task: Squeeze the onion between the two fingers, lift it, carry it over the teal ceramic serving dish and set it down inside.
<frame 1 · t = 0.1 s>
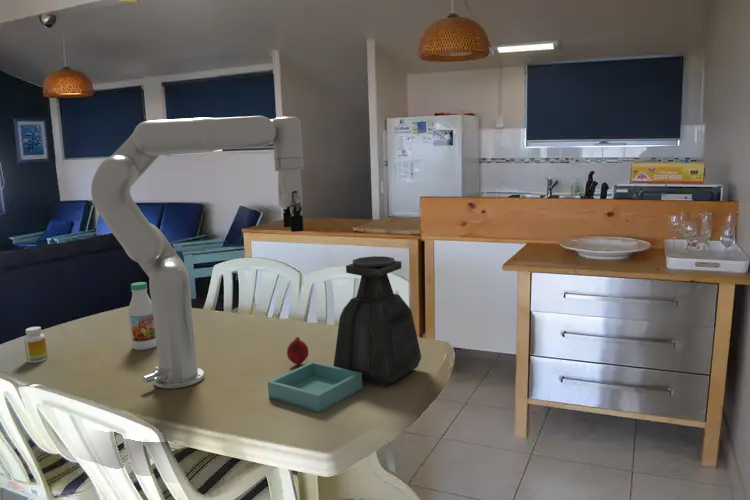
hand: (293, 229, 166), 37 cm above the table, tool pointing down, fingers open, 9 cm apart
serving dish: (316, 393, 150), on the table
bottle: (378, 374, 161), on the table
supplement bottle: (37, 360, 182), on the table
onion: (298, 365, 169), on the table
milk bottle: (145, 347, 191), on the table
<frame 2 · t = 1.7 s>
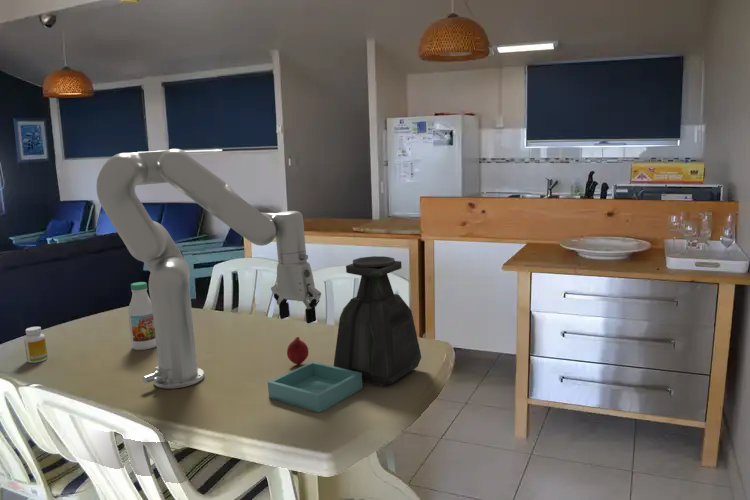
hand: (298, 319, 167), 13 cm above the table, tool pointing down, fingers open, 9 cm apart
nothing on the table moved.
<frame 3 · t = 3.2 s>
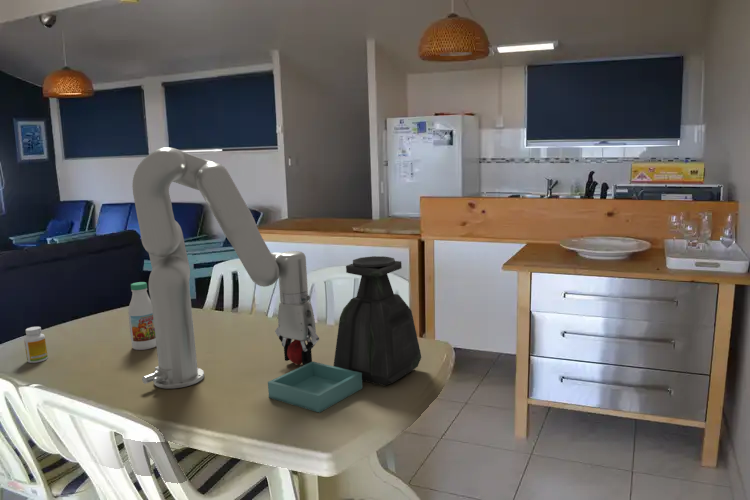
hand: (298, 360, 169), 1 cm above the table, tool pointing down, fingers closed on onion, 5 cm apart
onion: (298, 365, 169), on the table, touching gripper
everything else where it was.
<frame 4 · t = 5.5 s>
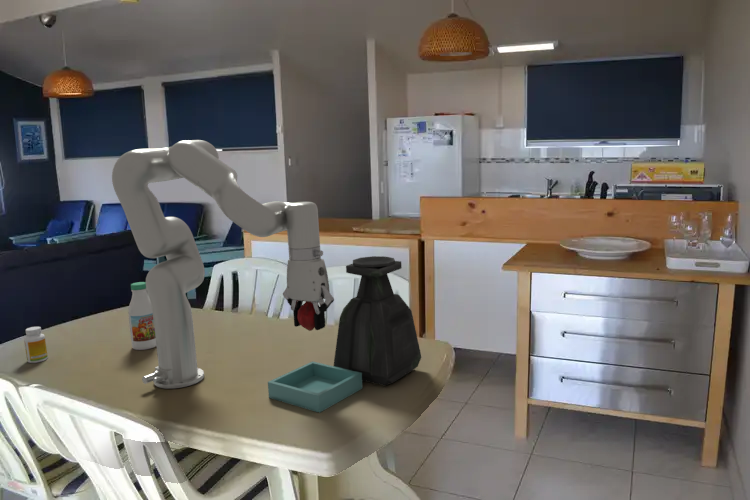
hand: (309, 326, 150), 16 cm above the table, tool pointing down, fingers closed on onion, 5 cm apart
onion: (310, 331, 151), point 14 cm above the table, touching gripper
everything else where it was.
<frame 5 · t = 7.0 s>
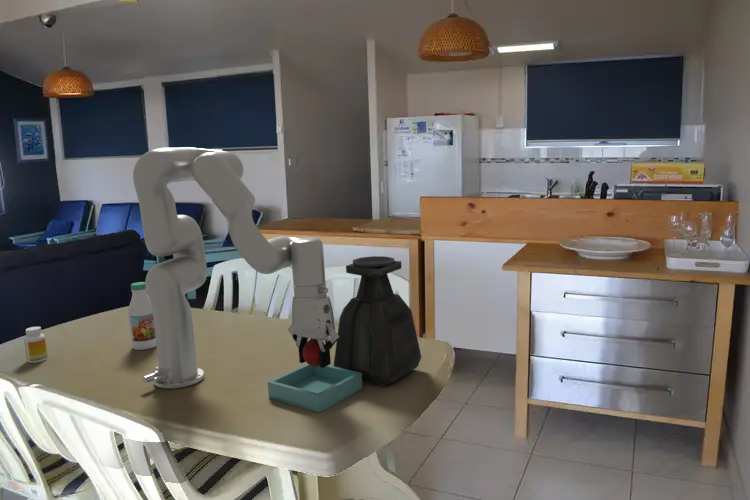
hand: (315, 362, 148), 8 cm above the table, tool pointing down, fingers closed on onion, 5 cm apart
onion: (315, 368, 149), point 6 cm above the table, touching gripper
everything else where it was.
when the fingers open (4 cm above the table, at t = 8.0 s): onion drops 3 cm, resting on serving dish.
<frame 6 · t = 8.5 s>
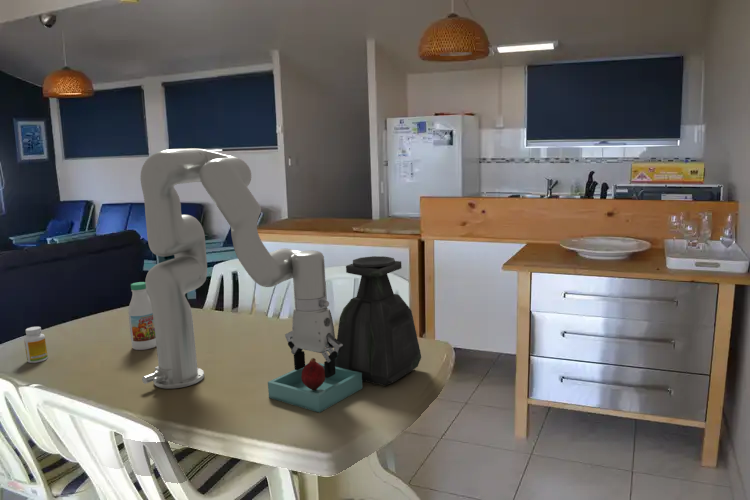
hand: (314, 372, 149), 5 cm above the table, tool pointing down, fingers open, 9 cm apart
onion: (314, 390, 150), resting on serving dish
everything else where it was.
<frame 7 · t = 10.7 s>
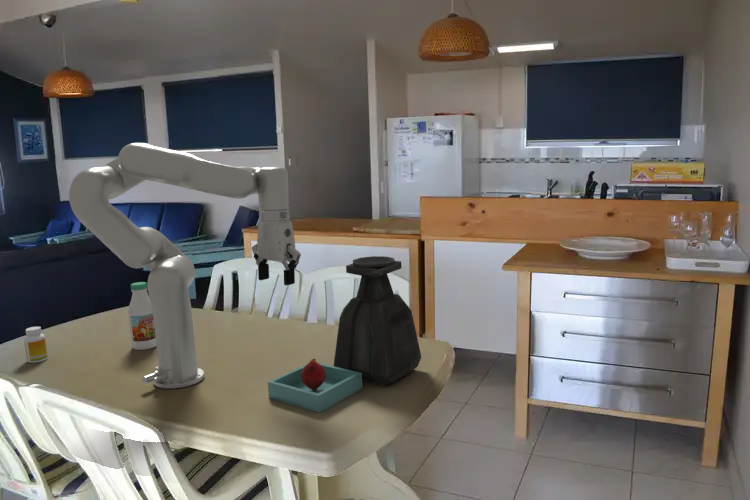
hand: (276, 281, 160), 25 cm above the table, tool pointing down, fingers open, 9 cm apart
nothing on the table moved.
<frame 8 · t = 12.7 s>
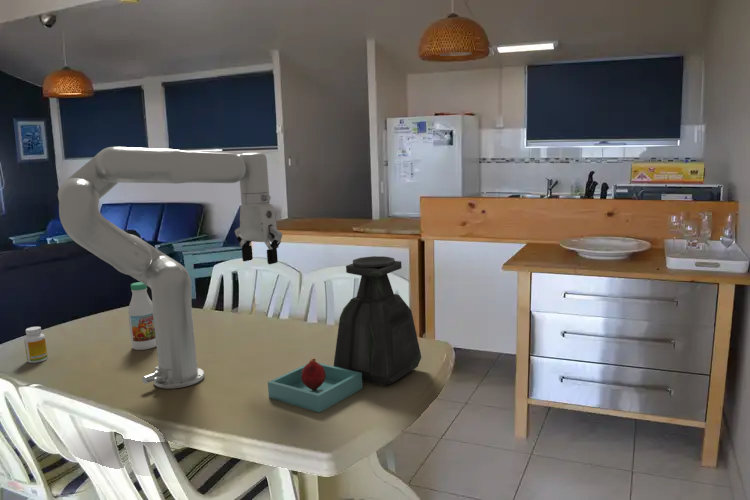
hand: (260, 261, 168), 28 cm above the table, tool pointing down, fingers open, 9 cm apart
nothing on the table moved.
at the end: onion inside the target area on the serving dish (0.6 cm from its centre), point 0.4 cm above the serving dish's base; the gripper is holding nothing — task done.
